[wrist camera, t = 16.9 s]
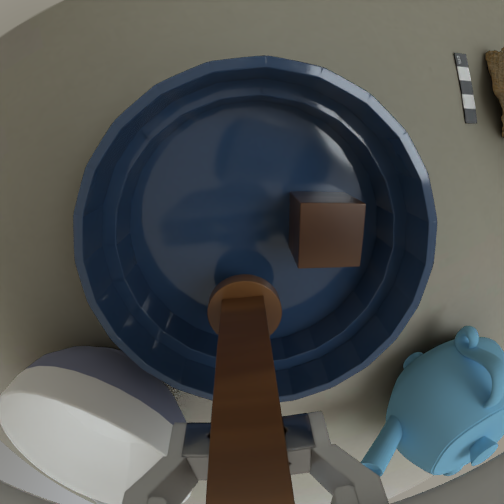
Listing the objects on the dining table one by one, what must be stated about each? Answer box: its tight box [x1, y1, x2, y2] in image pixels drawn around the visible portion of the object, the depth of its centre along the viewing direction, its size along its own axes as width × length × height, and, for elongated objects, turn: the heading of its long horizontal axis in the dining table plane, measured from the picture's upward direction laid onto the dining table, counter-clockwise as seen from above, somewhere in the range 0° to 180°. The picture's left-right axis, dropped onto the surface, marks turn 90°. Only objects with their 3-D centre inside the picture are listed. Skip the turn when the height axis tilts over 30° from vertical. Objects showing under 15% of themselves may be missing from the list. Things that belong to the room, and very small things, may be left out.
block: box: [289, 191, 366, 268], centre depth 18 cm, size 4×4×4 cm
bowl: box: [0, 346, 192, 504], centre depth 20 cm, size 16×16×10 cm
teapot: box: [360, 326, 504, 476], centre depth 21 cm, size 20×17×12 cm
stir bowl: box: [73, 56, 437, 402], centre depth 18 cm, size 19×19×6 cm
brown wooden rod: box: [206, 274, 295, 504], centre depth 13 cm, size 4×4×14 cm
